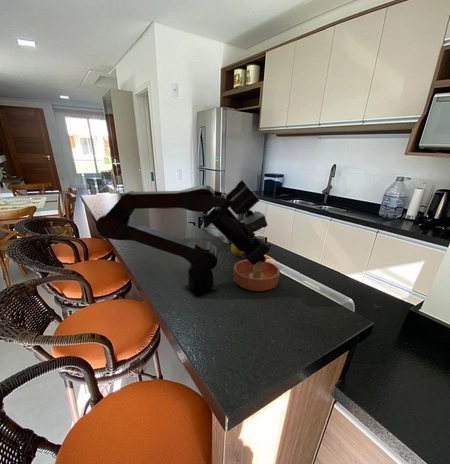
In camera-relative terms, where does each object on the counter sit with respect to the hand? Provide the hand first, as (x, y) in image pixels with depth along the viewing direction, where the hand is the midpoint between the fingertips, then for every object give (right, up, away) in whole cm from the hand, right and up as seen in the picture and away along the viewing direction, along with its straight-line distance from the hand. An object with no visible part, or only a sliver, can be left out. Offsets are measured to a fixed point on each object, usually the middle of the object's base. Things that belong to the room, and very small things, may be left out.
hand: (262, 258), depth 74 cm
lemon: (-6, +2, +22) cm, 23 cm away
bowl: (-1, -7, +5) cm, 9 cm away
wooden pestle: (-1, -6, +3) cm, 7 cm away
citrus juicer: (-35, +8, +34) cm, 49 cm away
